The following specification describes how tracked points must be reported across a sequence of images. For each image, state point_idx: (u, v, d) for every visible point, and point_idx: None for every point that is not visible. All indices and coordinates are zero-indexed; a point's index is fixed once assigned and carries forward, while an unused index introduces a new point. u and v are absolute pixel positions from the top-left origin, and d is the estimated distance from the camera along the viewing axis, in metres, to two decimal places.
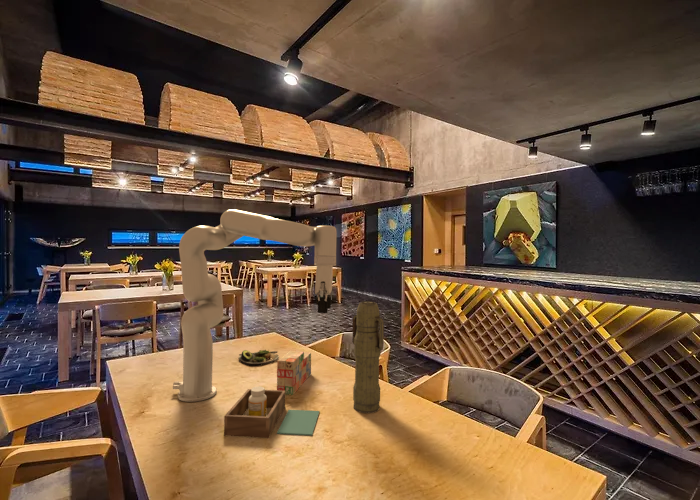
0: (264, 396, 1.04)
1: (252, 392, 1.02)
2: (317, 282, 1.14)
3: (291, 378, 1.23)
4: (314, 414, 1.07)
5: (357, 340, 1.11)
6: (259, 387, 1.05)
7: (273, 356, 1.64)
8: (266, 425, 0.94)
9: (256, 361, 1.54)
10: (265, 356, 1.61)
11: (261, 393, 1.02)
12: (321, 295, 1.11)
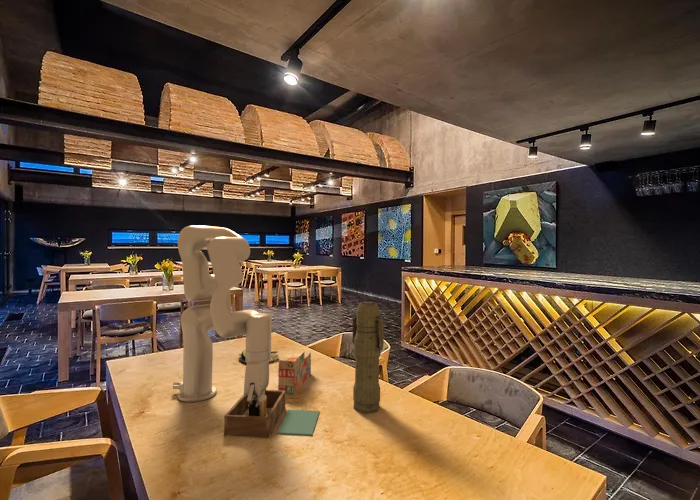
0: (264, 396, 1.04)
1: None
2: (246, 383, 0.99)
3: (292, 377, 1.23)
4: (314, 414, 1.07)
5: (357, 340, 1.11)
6: None
7: (273, 356, 1.64)
8: (266, 425, 0.94)
9: None
10: None
11: None
12: None
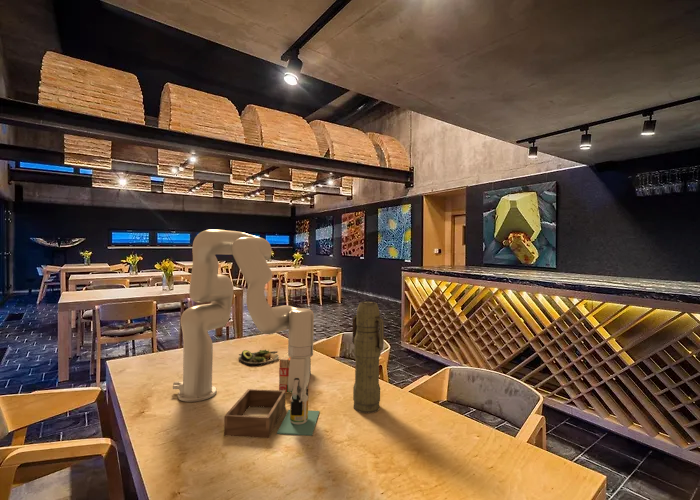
0: (306, 396, 1.03)
1: None
2: (290, 379, 0.98)
3: None
4: (314, 414, 1.07)
5: (357, 340, 1.11)
6: None
7: (273, 356, 1.64)
8: (266, 425, 0.94)
9: (256, 361, 1.54)
10: (265, 356, 1.61)
11: (303, 394, 1.02)
12: (294, 397, 0.96)
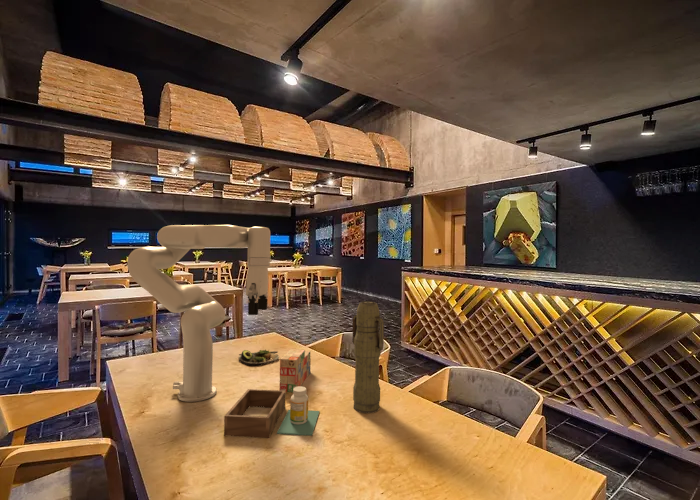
0: (306, 396, 1.03)
1: (294, 392, 1.02)
2: (248, 284, 1.13)
3: (294, 376, 1.25)
4: (314, 414, 1.07)
5: (357, 340, 1.11)
6: (300, 387, 1.04)
7: (273, 356, 1.64)
8: (266, 425, 0.94)
9: (256, 361, 1.54)
10: (265, 356, 1.61)
11: (303, 393, 1.02)
12: (250, 297, 1.10)
